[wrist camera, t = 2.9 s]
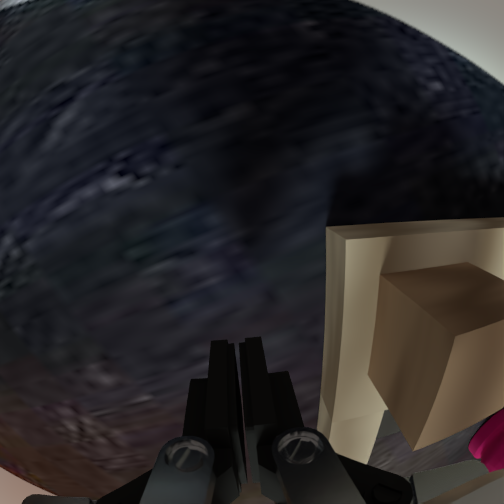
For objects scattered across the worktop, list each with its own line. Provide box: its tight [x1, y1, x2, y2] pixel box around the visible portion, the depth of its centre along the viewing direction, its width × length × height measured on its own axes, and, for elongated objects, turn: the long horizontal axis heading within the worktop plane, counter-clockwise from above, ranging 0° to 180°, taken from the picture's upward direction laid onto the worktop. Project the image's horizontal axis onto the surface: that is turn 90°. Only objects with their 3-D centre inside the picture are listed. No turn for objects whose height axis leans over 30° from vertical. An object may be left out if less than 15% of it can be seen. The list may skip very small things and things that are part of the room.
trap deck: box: [317, 217, 504, 464], centre depth 14 cm, size 24×15×2 cm, turn 94°
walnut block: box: [367, 262, 504, 451], centre depth 10 cm, size 5×5×5 cm
